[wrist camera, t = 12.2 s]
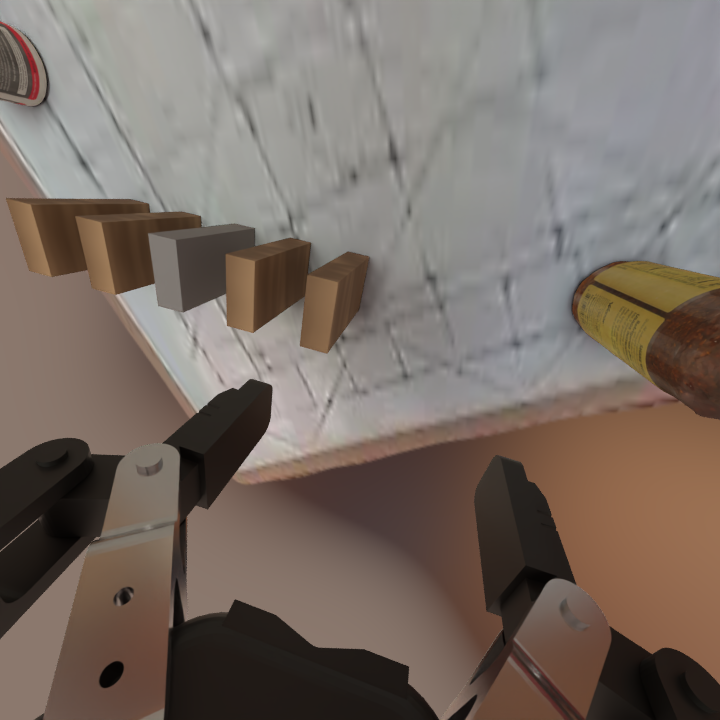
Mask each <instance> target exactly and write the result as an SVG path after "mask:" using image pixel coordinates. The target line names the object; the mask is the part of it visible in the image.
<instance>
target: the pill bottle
mask: <svg viewBox="0 0 720 720" xmlns="http://www.w3.org/2000/svg"><path fill="white" fill-rule="evenodd" d="M46 87H47V81H46V74H45V70H44V67H43V63H42V61H41V58H40V57H39V55H38V53H37V51H36V50H35V48H34V47H33V45H32V44H31V42H30V41H29V40H28V39H27V38H26V37H25V36H24V35H23V34H22V33H21V32H20V31H19V30H17V29H16V28H14V27H12V26H10V25H8V24H5V23H3V22H1V21H0V100H3V101H8V102H12V103H16V104H21V105H26V106H36V105H38V104H40V103H41V102H42V100H43V99H44V97H45V93H46Z"/></svg>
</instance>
